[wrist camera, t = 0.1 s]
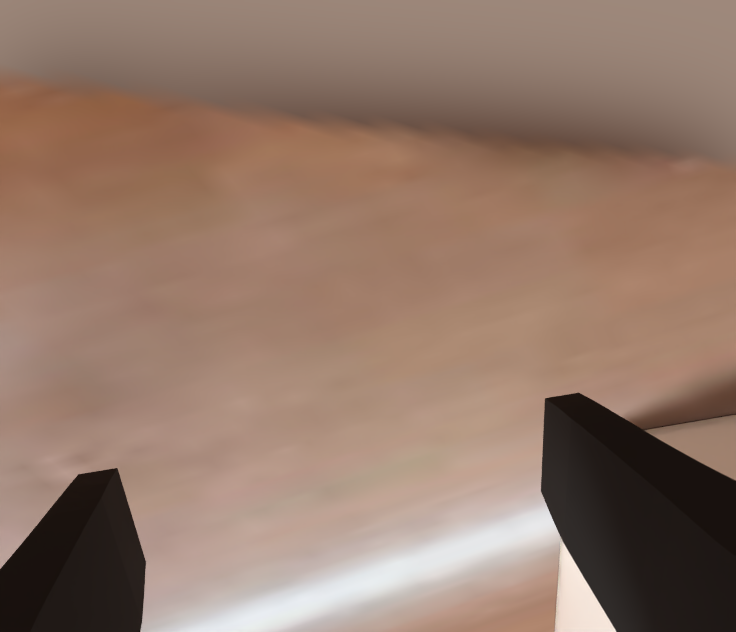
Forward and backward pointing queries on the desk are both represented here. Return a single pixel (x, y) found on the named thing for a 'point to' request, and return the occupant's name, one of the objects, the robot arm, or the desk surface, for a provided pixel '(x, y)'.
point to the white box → (696, 439)
